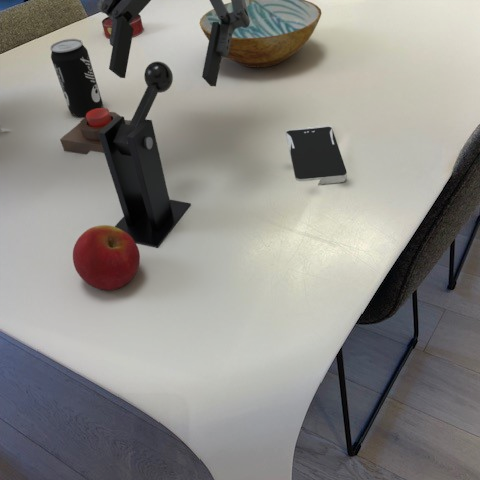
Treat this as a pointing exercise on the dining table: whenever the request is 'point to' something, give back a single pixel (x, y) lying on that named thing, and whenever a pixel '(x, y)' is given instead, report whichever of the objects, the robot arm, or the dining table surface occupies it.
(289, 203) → the dining table surface
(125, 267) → the apple
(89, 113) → the button
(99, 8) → the canned food
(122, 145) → the black ball lever
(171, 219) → the black lever stand
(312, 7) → the bowl
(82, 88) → the beverage can
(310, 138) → the smartphone
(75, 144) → the button block
